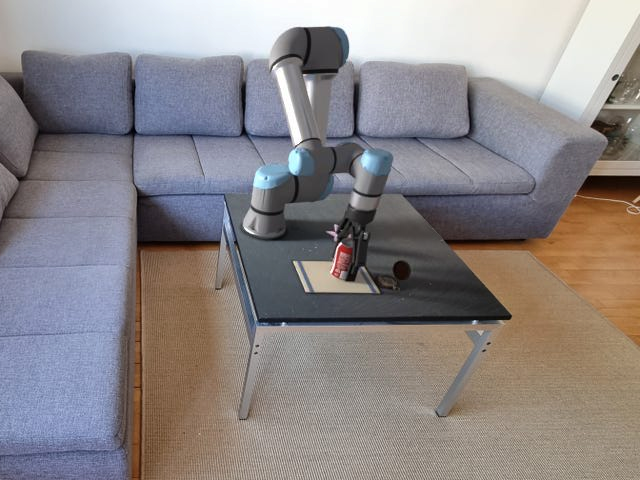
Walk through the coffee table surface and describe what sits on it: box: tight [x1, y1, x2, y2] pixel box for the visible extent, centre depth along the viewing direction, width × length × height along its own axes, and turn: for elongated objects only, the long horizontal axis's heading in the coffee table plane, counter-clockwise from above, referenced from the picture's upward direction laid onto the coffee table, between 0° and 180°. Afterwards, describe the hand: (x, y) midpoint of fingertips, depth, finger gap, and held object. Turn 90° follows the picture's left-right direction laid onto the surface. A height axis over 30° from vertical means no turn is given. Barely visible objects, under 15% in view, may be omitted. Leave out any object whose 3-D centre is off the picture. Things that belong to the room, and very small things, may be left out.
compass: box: [375, 259, 412, 292], centre depth 132 cm, size 8×8×7 cm
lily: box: [325, 224, 351, 243], centre depth 147 cm, size 12×12×10 cm
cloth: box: [292, 260, 381, 295], centre depth 137 cm, size 16×22×1 cm
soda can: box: [330, 238, 353, 280], centre depth 134 cm, size 7×7×12 cm
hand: (342, 269), depth 136 cm, fingers open, 11 cm apart
